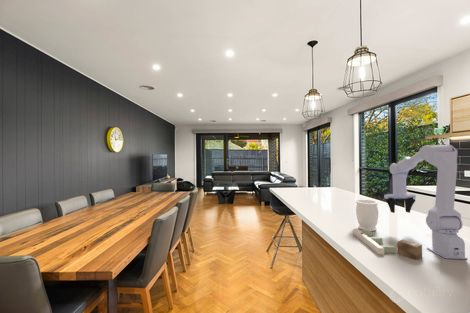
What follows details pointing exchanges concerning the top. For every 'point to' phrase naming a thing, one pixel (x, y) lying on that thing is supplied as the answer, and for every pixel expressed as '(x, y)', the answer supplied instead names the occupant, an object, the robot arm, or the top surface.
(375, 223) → the jar
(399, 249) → the cardboard box
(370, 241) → the rack
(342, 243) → the top surface
